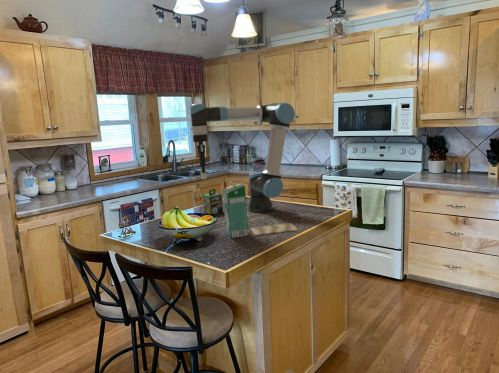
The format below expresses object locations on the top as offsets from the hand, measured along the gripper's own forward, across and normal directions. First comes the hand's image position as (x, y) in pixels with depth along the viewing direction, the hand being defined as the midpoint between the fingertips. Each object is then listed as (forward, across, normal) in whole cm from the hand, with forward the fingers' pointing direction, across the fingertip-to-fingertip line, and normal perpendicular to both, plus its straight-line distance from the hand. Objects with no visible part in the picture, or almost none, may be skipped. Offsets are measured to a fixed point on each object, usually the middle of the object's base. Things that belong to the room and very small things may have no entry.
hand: (203, 178), depth 208 cm
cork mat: (+27, +20, +32) cm, 46 cm away
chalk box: (+27, -29, +6) cm, 40 cm away
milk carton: (+27, +21, +13) cm, 36 cm away
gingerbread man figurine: (+27, -1, -43) cm, 51 cm away
